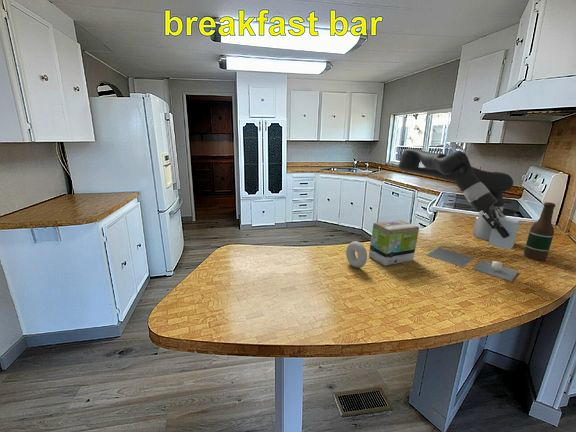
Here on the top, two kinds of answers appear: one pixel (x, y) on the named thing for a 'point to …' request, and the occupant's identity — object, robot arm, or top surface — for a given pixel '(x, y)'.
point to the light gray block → (511, 228)
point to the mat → (450, 257)
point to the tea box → (393, 242)
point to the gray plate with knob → (496, 270)
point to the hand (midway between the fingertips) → (509, 234)
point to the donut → (361, 254)
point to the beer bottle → (540, 235)
